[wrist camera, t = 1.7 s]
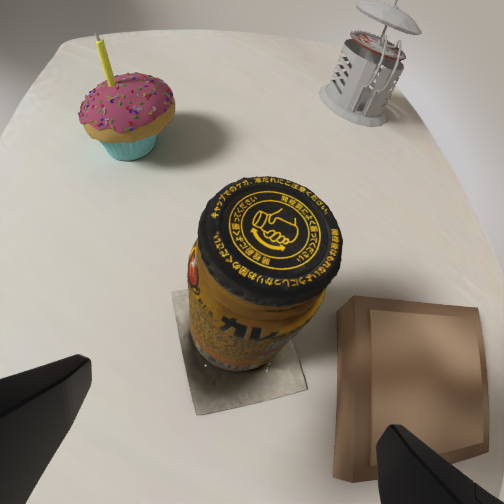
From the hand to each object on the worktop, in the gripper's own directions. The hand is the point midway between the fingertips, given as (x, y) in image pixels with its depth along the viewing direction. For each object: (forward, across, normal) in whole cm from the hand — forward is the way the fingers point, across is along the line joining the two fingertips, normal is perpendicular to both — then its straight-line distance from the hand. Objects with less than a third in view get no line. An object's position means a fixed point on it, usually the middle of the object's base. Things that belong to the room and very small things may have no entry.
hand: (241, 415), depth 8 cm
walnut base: (+11, -13, +6) cm, 18 cm away
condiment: (+12, 0, +5) cm, 13 cm away
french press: (+35, -8, -18) cm, 40 cm away
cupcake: (+23, +14, -6) cm, 28 cm away
